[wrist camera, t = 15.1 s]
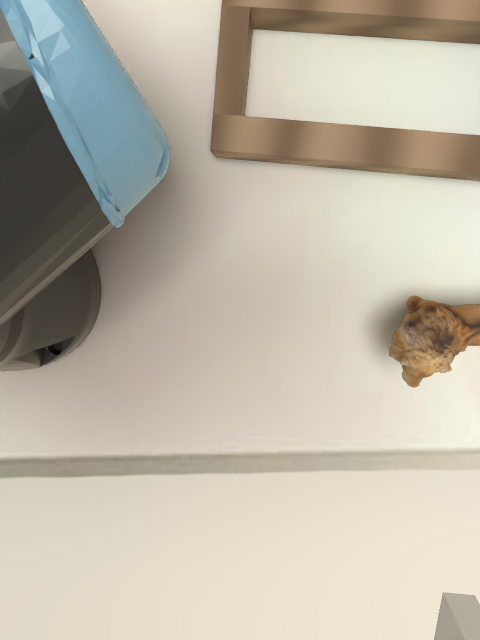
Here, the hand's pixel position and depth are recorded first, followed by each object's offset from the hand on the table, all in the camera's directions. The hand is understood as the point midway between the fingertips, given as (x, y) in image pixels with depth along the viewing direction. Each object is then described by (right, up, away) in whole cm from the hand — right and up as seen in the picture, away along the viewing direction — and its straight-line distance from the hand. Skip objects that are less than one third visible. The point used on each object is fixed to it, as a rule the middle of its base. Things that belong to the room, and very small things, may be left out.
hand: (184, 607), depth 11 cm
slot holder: (+12, +25, +20) cm, 35 cm away
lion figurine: (+20, +8, +23) cm, 32 cm away
